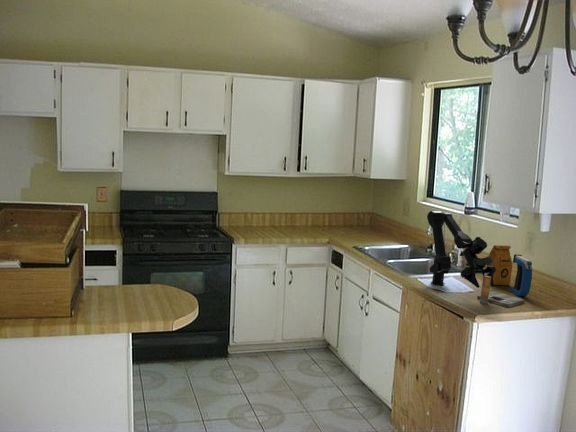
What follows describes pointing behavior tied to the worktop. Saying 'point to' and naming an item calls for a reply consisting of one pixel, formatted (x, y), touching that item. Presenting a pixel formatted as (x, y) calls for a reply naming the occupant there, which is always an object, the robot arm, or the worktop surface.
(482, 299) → the wooden block
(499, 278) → the coffee package
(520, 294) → the blue curved piece
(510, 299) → the grey square tile
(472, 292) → the worktop surface
